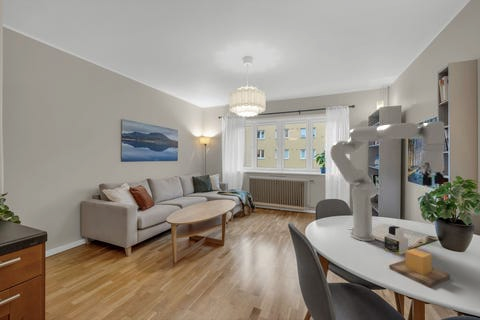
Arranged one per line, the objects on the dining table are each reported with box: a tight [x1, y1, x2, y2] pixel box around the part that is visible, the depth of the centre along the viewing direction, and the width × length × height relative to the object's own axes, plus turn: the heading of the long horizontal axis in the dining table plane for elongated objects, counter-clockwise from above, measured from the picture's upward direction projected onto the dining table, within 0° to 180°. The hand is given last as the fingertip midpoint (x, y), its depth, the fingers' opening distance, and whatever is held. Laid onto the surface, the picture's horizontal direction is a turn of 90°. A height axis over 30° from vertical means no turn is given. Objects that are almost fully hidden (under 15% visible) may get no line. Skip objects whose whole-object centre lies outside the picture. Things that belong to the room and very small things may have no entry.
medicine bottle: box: [383, 225, 409, 256], centre depth 104 cm, size 7×7×12 cm
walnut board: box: [388, 259, 451, 288], centre depth 84 cm, size 14×14×6 cm
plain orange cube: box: [405, 247, 433, 275], centre depth 84 cm, size 6×6×7 cm
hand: (433, 184), depth 97 cm, fingers open, 9 cm apart
